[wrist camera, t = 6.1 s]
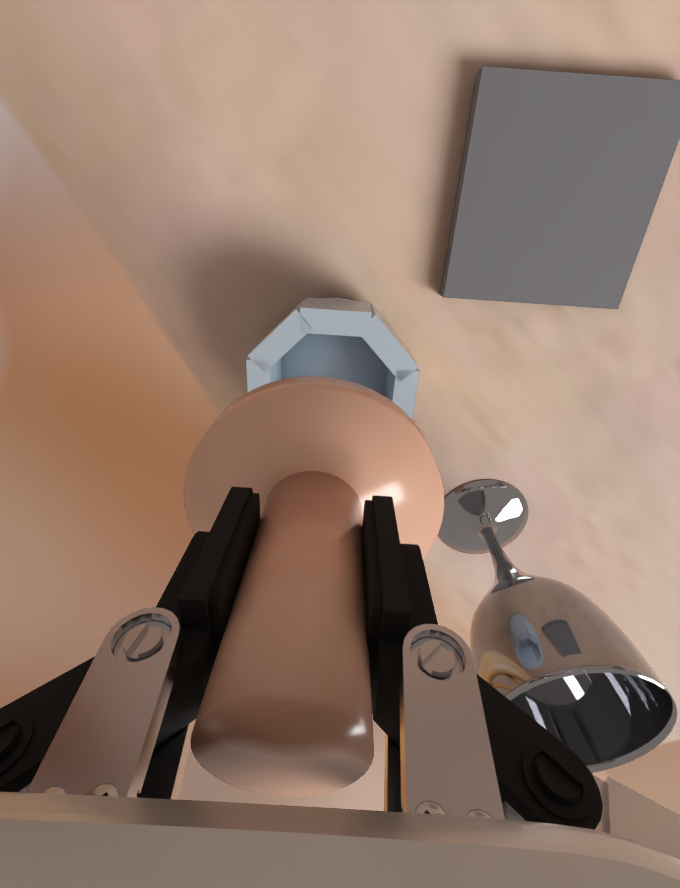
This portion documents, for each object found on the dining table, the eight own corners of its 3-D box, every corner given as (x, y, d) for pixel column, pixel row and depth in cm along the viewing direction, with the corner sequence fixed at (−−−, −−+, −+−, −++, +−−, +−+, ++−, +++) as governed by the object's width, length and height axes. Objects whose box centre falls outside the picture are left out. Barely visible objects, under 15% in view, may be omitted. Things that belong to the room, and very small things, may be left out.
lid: (458, 385, 12) (614, 590, 5) (417, 585, 15) (473, 865, 8) (183, 367, 12) (-59, 549, 5) (207, 572, 15) (91, 845, 8)
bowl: (413, 302, 24) (428, 316, 19) (395, 437, 28) (403, 474, 23) (263, 292, 24) (243, 303, 19) (266, 428, 28) (251, 464, 23)
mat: (683, 89, 19) (699, 81, 18) (607, 306, 24) (617, 309, 23) (476, 74, 19) (482, 66, 18) (440, 295, 24) (443, 297, 23)
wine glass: (412, 501, 30) (460, 706, 17) (514, 457, 28) (658, 648, 15) (452, 570, 33) (520, 789, 20) (547, 534, 31) (691, 750, 18)
